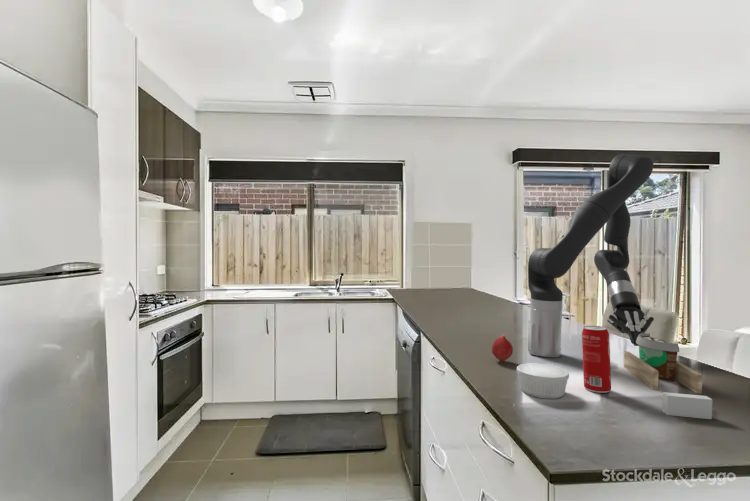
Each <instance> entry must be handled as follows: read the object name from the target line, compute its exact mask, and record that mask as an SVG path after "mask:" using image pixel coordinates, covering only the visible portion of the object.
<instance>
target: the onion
mask: <svg viewBox="0 0 750 501" xmlns="http://www.w3.org/2000/svg"><path fill="white" fill-rule="evenodd" d="M513 348H514V347H513V344H512V342H510V341H509V340H508V338H506V335H505V334H501V336H500V337H498V338H496V339H495V340H494V342H493V343H492V346H491V352H492V355H493V356H494V357H495V358H496V359H497V360H498V361H499V362H501V363H505V361H507V360H508V359H510V358H511V357H512V354H513V352H514V349H513Z"/></svg>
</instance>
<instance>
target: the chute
mask: <svg viewBox="0 0 750 501" xmlns="http://www.w3.org/2000/svg"><path fill="white" fill-rule="evenodd" d="M623 353H624V354H623V355H624V356H623V368H624V369H626V370H627V371H629V372H630V373H631V374H632V375H634V376H635V377H636V378H637V379H638V380H640V381H641V382H643V384H645V385H646V386H647V387H649V388H650V389H652V390H655V391H656V390H657V391H658V390H659V379H658V375H659V371H658V370H656V369H654V368H653V367H651V366H650V365H648V364H647V363H645V362H644V361H642V360H641V359H639V356H636V355H635V354H634V353H632V352H630V351H626V350H625V351H624V352H623ZM674 381H676V382H679V383H680V384H681V385H682V386H684V387H686V388H687V389H688V390H690V391H692V392H693V393H695V394H700V395H702V392H703V374H702V373H700V372H698V371H696V370H695V369H693V368H691V367H690V366H687V365H686V364H684V363H682V362H681V361H678V360H676V369H675V377H674Z"/></svg>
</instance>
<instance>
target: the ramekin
mask: <svg viewBox="0 0 750 501" xmlns="http://www.w3.org/2000/svg"><path fill="white" fill-rule="evenodd" d="M516 372H517V377H518V382H519V387H520V389H521V391H522V392H523V393H525V394H526V395H529V396H532V397H535V398H539V399H549V400H550V399H553V400H554V399H559V398H562V397H563V396H564V394H565V393H566V388H567V384H568V380H569V379H570V374H569V372H568V371H567V370H566V369H564V368H562V367H560V366H556V365H552V364H547V363H540V362H527V363H521V364H519V365H518V366H516Z"/></svg>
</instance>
